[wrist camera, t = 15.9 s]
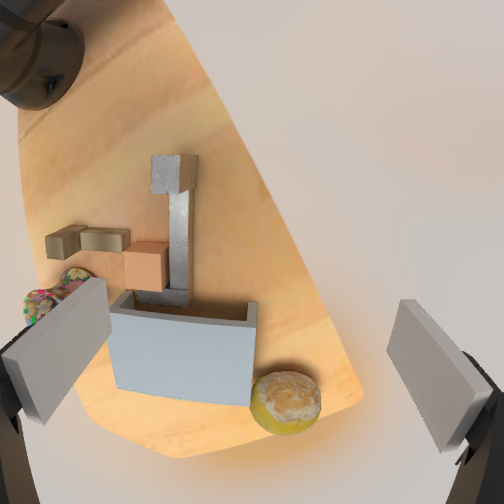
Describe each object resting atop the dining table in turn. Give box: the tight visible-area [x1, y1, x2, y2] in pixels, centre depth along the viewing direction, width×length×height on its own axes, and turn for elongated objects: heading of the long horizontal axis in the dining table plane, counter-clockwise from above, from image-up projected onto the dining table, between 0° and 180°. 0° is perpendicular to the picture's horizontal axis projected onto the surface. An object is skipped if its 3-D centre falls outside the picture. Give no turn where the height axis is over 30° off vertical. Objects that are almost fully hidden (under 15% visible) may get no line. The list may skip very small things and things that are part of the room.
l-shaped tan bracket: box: [45, 225, 130, 260], centre depth 39 cm, size 10×3×7 cm, turn 86°
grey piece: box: [137, 155, 198, 308], centre depth 38 cm, size 19×7×9 cm, turn 176°
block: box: [123, 241, 170, 292], centre depth 41 cm, size 5×5×5 cm
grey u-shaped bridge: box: [107, 290, 257, 407], centre depth 43 cm, size 13×19×8 cm
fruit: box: [250, 371, 321, 435], centre depth 44 cm, size 10×11×10 cm
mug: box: [23, 268, 93, 326], centre depth 40 cm, size 12×9×11 cm
